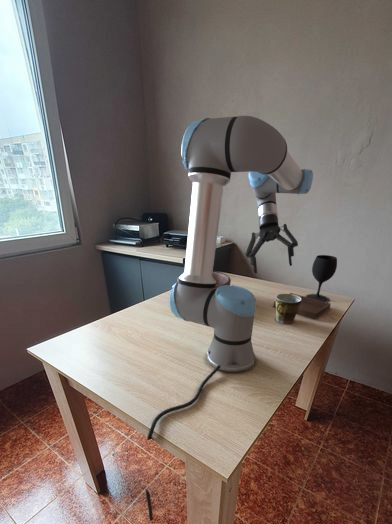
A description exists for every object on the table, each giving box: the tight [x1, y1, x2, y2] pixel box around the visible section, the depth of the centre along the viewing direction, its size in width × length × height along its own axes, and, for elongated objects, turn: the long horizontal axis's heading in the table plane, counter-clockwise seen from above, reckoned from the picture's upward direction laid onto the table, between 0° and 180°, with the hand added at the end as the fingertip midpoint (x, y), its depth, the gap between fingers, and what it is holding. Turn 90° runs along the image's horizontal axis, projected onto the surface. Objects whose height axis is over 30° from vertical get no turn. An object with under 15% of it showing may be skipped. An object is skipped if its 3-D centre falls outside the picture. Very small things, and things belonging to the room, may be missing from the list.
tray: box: [273, 292, 331, 321], centre depth 131 cm, size 16×20×3 cm
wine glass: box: [305, 254, 338, 303], centre depth 137 cm, size 10×10×20 cm
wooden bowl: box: [176, 271, 232, 289], centre depth 137 cm, size 25×25×10 cm
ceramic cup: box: [275, 293, 302, 325], centre depth 117 cm, size 13×10×10 cm
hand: (272, 268), depth 113 cm, fingers open, 13 cm apart
